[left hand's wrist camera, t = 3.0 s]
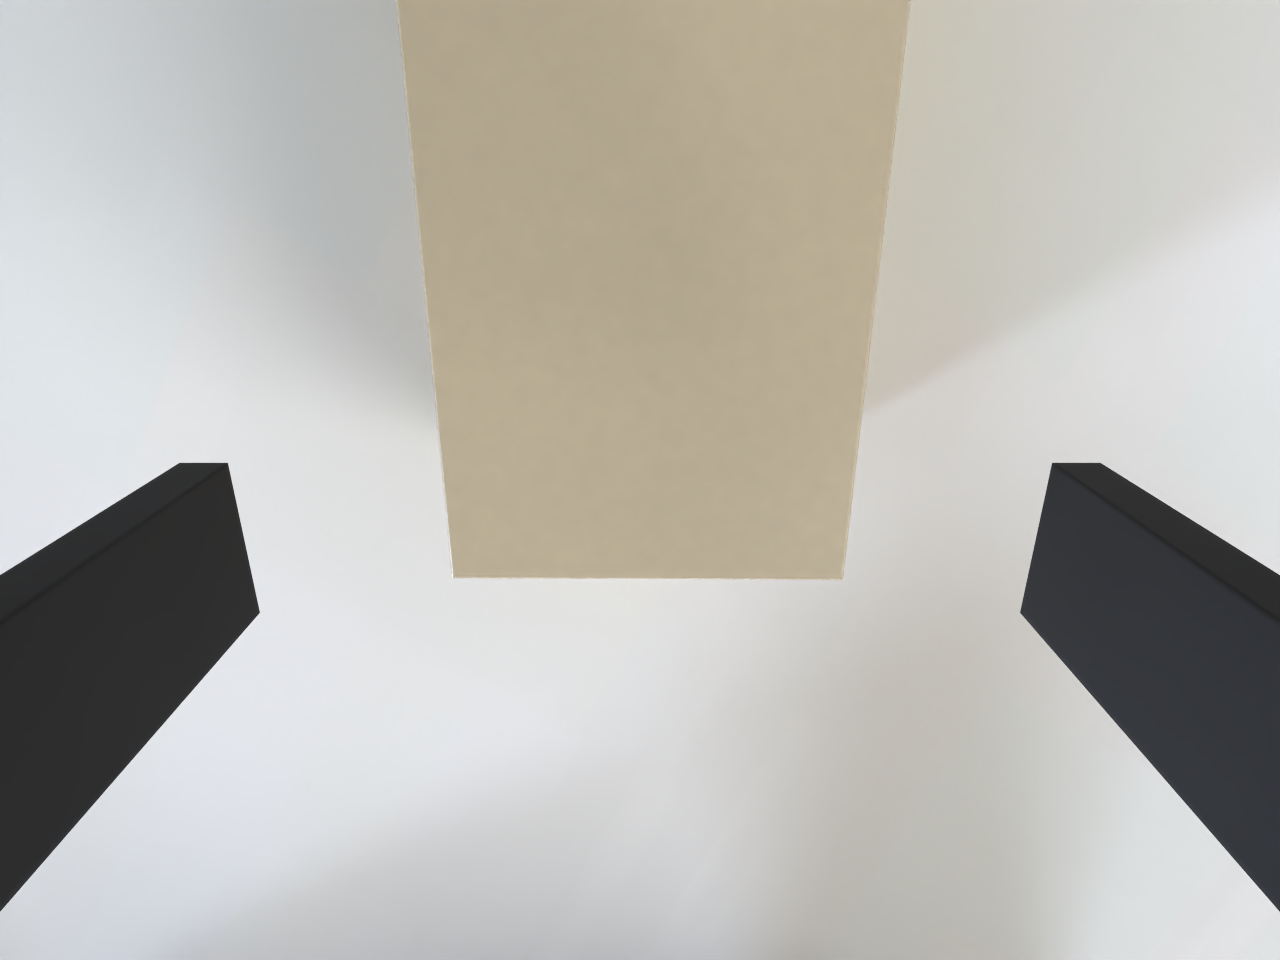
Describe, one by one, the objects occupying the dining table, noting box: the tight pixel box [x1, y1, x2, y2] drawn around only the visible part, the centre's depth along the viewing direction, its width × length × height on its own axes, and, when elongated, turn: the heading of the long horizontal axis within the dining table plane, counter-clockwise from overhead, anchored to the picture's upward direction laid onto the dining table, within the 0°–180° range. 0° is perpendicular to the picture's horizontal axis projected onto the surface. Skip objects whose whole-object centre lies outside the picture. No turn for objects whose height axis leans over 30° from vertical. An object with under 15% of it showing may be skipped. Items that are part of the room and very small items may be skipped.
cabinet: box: [396, 0, 910, 580], centre depth 21 cm, size 18×10×9 cm, turn 0°
